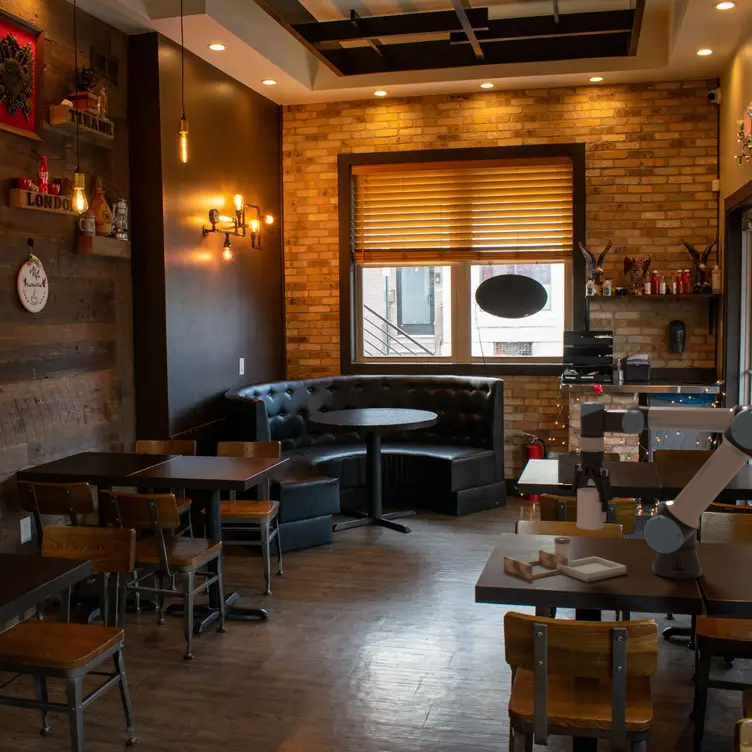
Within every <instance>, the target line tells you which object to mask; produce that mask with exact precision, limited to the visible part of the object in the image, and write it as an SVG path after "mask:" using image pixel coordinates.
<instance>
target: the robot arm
mask: <svg viewBox="0 0 752 752" xmlns="http://www.w3.org/2000/svg"><path fill="white" fill-rule="evenodd" d="M579 417H580V423H579V424H580V426H579V427H580V429H579V430H580V434H579V435H580V439H579V448H580V449H581V450H580V451H579V454H580V461H581V462H582V464H576V465H574V468H575V473H574V479H573V485H572V487H571V491H570V492H571V493H572V494H574V495H575V497H576V498H575V499H576V500H575V501H576V503H575V504H576V506H577V490H578V489H580V488H587V487H586V486H587V484H588V485H589V481H590V480H591V481H592V482H593V483H594V485H595V488H596V489H597V492H599V498H600V501H599V502H598V522H603V523H604V522H605V523H606V522H607V513H608V503H609V502H611V501H613V499H614V496H613V490H612V484H611V478H610V477H611V469H608V468H607V469H605V468H604V467H603V463H604V462H605V451H604V449H605V433H607V434H608V433H612V434H613V433H614V434H625V435H640V434H641V433H642V432H643V430H644V431H645V430H649V431H650V430H653V431H654V430H655V431H658V430H659V431H676V432H678V431H681V432H682V431H684V432H703V433H707V432H708V433H722V440H723V441H722V443H721V444H720V445H719V446H718V447H717V448H716V450H715V451H714V452H713V453H712V455H710V457H709V458H708V459H707V460H706V461H705V463H704V464H703V465H702V467H700V469H699V470H698V471H697V472H696V474H694V476H693V477H692V478H691V480H690V481H689V482H688V483H687V484H686V485H685V487H684V488H683V489H682V491H681V492H679V493H678V495H677V496H676V497H675V499H673V500H671V499H670V500H666V501H660V502H659V503H658V508H657V512H656V513H655V515H653V517H651V518H649V519H648V520H647V522H646V523H645V526H644V529H643V534H644V535H643V536H644V539H645V541H646V543H647V544H648V546H649V547H650V548H651V549H652V550H654V551H656V554H655V556H654V560H653V561H652V573H654V574H655V575H658V576H660V577H663V578H670V579H678V580H690V579H697V578H700V577H702V574H703V572H702V571H703V570H702V569H703V567H702V565H701V563H700V560H699V555H698V552H697V535H698V534H697V533H698V532H697V528H698V526H699V517H701V515H702V514H703V513H704V512H705V510H706V509H708V507H709V506H710V505H711V503H713V501H714V500H715V499H716V498H717V497H718V495H719V494H720V493H721V492H722V491H723V490H724V489H725V487H726V486H727V485H728V483H730V482H731V481H732V479H734V477H735V476H736V475H737V473H738V472H739V471H740V470H741V469H742V467H743V466H745V464H747V461H751V460H752V404H744V405H743V404H741V405H740V404H739V405H737V404H736V405H734V406H733V407H731V408H725V407H692V406H691V407H690V406H688V407H687V406H686V407H683V406H680V407H679V406H645V405H644V406H643V405H640V404H633V405H630V406H629V407H625V408H622V409H613V408H606V407H605V403H604V402H603V401H585V402H582V403H581V405H580V414H579Z"/></svg>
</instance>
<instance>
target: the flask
mask: <svg viewBox="0 0 752 752" xmlns="http://www.w3.org/2000/svg"><path fill="white" fill-rule="evenodd" d="M577 451H578V450H577V449H569V452H564V453H557V484H558V483H563V484H572V485H573V479H574V473H575V468H574V465H576V464H582V462H581V461H580V453H577ZM587 485H588V486H589V483H588V484H587Z"/></svg>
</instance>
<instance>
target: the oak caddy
mask: <svg viewBox="0 0 752 752" xmlns="http://www.w3.org/2000/svg"><path fill="white" fill-rule="evenodd" d="M558 563H562V564H563V565H566V566H568V558H565V557H562V556H559V555H556V554H555V553H552V552H550V551H548V550H547V551H546V550H544V549H538V559H535V560H531V561H525V562H524V561H522V560H519V559H516V558H514V557H511V556H508V555H505V556H503V570H504V571H506V572H509V573H511V574H514V575H516V576H520V577H522V578H525V579H527V580H534V579H535V580H536V579H538V578H539V579H540V578H543V577H544V578H545V577H548V576H549V577H550V576H554V575H558V574H563V573H562V569H557V564H558ZM536 565H543V566H546V567H549V568H552V570H547V571H541V572H536V573H533V566H536Z"/></svg>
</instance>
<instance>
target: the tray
mask: <svg viewBox="0 0 752 752" xmlns="http://www.w3.org/2000/svg"><path fill="white" fill-rule="evenodd" d="M557 569H562V573H561V574H563V575H567V576H570V577H572V578H575V579H578V580H580V581H583V582H586V583H588V582H593V581H598V580H603V579H608V578H612V577H616V576H617V577H618V576H621V575H626V574H627V565H624V564H621V563H617V562H614V561H611V560H607V559H604V558H601V557H599V556H597V555H596V556H589V557H584V558H579V559H575V560H570V561H568V566H566V565H563V564H562V563H558V564H557Z"/></svg>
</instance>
